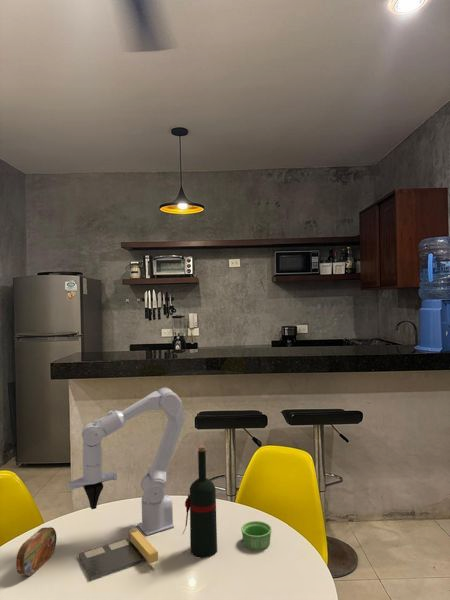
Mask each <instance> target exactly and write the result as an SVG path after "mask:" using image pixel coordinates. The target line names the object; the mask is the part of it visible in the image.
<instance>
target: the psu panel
mask: <svg viewBox="0 0 450 600" xmlns="http://www.w3.org/2000/svg"><path fill="white" fill-rule="evenodd" d="M77 557H78V560H79V561H80V563H81V565H82V568H83V569H84V571H85V572H86V575H87V577H88V578H89V580H90V581H91V582H92V581H94V580H97V579H100V578H102V577H106V576H109V575H111V574H114V573H117V572H120V571H123V570H125V569H129V568H131V567H135V566H136V565H139V564H143V563H146V562H148V561H147V560H146V558H145V557H144V556H143V555H142V554H141V553H140V551H139V550H138V549H137V548H136V547H135V545H134V544H133V543H132V542H131V541H130V540H129V539H128V537H127V538H124V539H120V540H117V541H113V542H111V543H106V544H103V545H101V546H97V547H94V548H91V549H88V550H85V551H81V552H78V554H77Z"/></svg>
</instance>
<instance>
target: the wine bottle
mask: <svg viewBox="0 0 450 600" xmlns="http://www.w3.org/2000/svg"><path fill="white" fill-rule="evenodd" d="M206 452H207V451H206V446H205V445H199V446H198V451H197V453H198V454H197V459H198V461H197V462H198V465H197V467H198V470H197V471H198V478H197V479H195V480H194V481H193V482H192V483H191V485H190V486H189V493H188V495H187V498H186V499H185V502H184V506H185V508H186V512H185V513H186V516H185V517H186V518H185V528H184V530H183V531H182V534H181V536H183V534H185V530H186V528H187V526H188V520H189V521H190V522H189V526H190V527H189V530H190V532H189V535H190V536H189V537H190V538H189V540H190V544H189V545H190V554H191V555H192V556H194V557H196V558H199V559H207V558H210V557H213V556H215V555H216V553H217V552H218V532H217V531H218V529H217V527H218V526H217V524H218V523H217V495H216V492H217V491H216V486H215V484H214V482H213V481H212V480H210V479H209V478H207V460H206V459H207V457H206V456H207V455H206V454H207V453H206ZM188 517H189V519H188Z"/></svg>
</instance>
